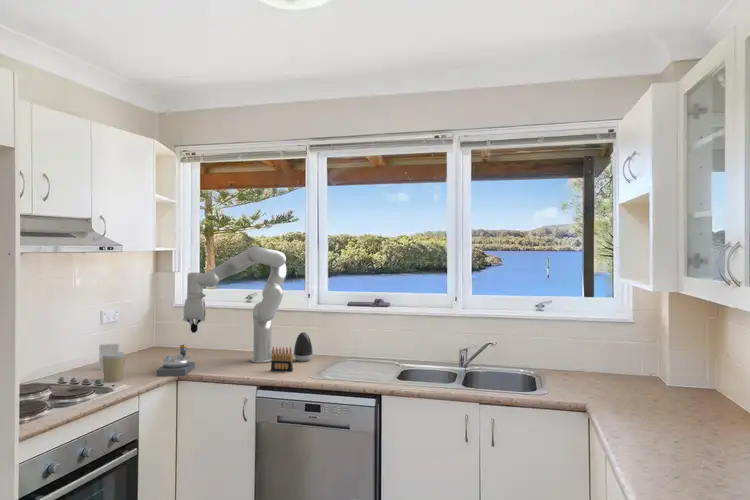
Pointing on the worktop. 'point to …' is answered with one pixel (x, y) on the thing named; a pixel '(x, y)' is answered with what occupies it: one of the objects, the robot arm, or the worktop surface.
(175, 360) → the gold-rimmed tube plate
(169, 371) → the grey rectangular base plate
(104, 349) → the base with upright slab
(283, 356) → the ammunition clip
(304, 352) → the black egg shaped speaker
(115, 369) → the coffee cup
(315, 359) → the worktop surface
